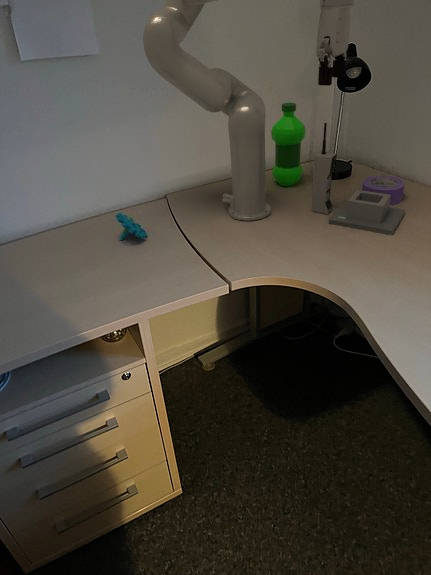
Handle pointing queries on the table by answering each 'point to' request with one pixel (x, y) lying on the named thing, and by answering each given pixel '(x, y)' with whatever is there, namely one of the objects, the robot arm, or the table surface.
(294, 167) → the plastic bottle
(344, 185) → the table surface
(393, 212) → the charging dock
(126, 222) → the teal bumpy irregular piece
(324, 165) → the vintage mobile phone
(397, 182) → the tape roll
